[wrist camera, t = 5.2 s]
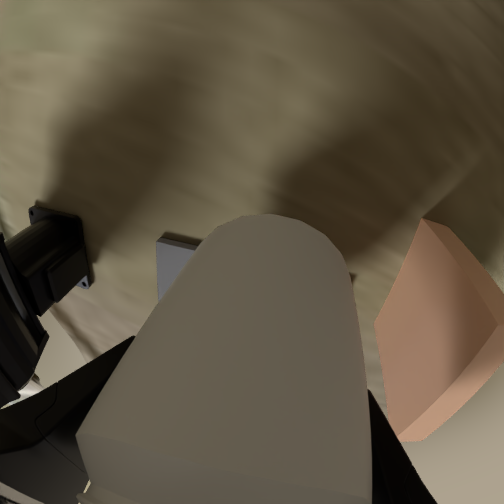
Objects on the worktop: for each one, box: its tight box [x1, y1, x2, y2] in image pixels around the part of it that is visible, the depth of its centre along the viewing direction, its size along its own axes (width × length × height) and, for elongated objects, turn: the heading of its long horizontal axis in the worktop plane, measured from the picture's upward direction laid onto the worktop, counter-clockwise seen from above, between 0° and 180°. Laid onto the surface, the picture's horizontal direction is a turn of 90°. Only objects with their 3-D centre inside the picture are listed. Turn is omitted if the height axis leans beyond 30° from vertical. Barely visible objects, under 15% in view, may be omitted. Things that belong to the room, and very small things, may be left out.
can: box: [76, 214, 372, 504], centre depth 9 cm, size 8×8×12 cm
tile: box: [374, 218, 504, 442], centre depth 12 cm, size 2×8×9 cm, turn 171°
